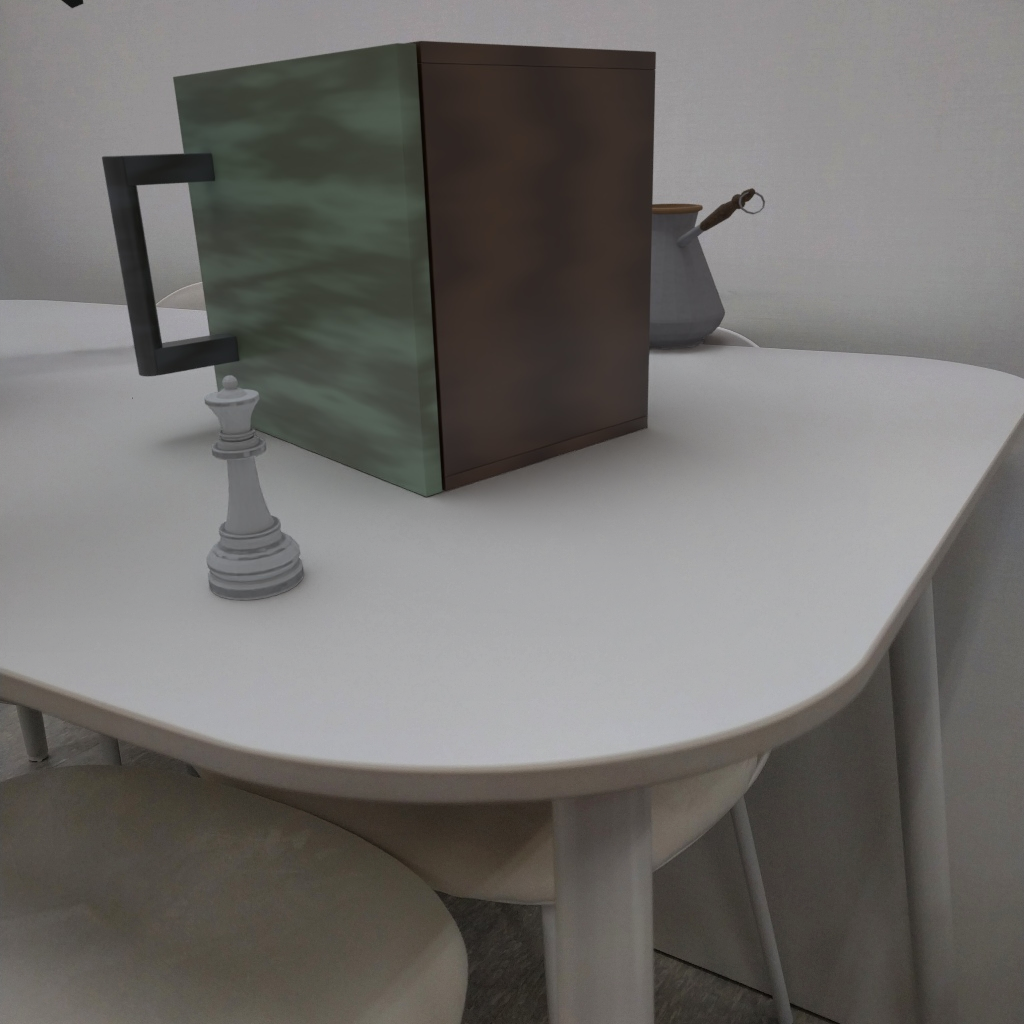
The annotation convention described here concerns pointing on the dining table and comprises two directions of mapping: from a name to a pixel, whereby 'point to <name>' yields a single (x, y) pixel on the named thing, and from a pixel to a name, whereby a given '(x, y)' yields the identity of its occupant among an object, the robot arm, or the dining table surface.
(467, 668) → the dining table surface
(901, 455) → the dining table surface
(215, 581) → the chess piece
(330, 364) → the cabinet door
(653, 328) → the coffee pot
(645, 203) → the cabinet
